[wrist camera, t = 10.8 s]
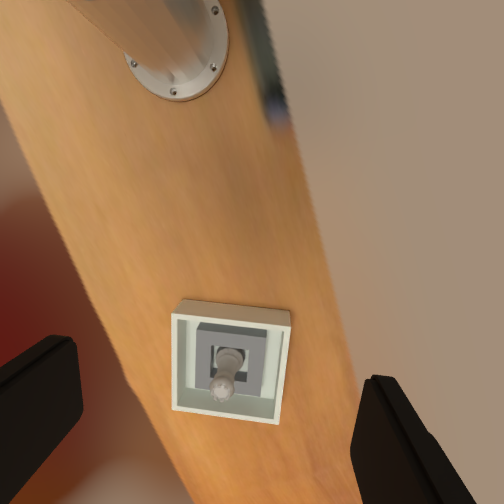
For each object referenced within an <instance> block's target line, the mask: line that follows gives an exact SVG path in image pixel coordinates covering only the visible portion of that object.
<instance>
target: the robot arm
mask: <svg viewBox="0 0 504 504" xmlns="http://www.w3.org/2000/svg"><path fill="white" fill-rule="evenodd" d="M66 1H67V2H69V3H70V4H71V5H72V6H73V7H74V8H75V9H77V10H78V11H79V12H80V13H81V14H82V15H83V16H84V17H86V18H87V19H88V20H89V21H90V22H91V23H92V24H93V25H95V26H96V27H97V28H98V29H99V30H100V31H101V32H103V33H104V34H105V35H106V36H107V37H108V38H109V39H110V40H112V41H113V42H114V43H115V44H116V45H117V46H118V47H120V48H121V49H122V50H123V52H124V55H125V59H126V61H127V63H128V66H129V68H130V70H131V71H132V73H133V74H134V76H135V77H136V79H137V80H138V81H139V82H140V83H141V84H142V85H143V86H144V87H145V88H146V89H147V90H149V91H150V92H151V93H153V94H155V95H156V96H158V97H160V98H163V99H166V100H169V101H177V102H180V101H188V100H191V99H194V98H197V97H199V96H200V95H202V94H204V93H205V92H206V91H208V90H209V89H210V88H211V87H212V86H213V85H214V83H215V82H216V81H217V79H218V78H219V76H220V74H221V72H222V70H223V68H224V66H225V62H226V59H227V55H228V47H229V34H228V27H227V22H226V19H225V16H224V12H223V9H222V7H221V5H220V3H219V1H218V0H66ZM216 13H218V14H217V15H215V14H216ZM137 65H138V66H137ZM213 69H216V71H214V72H213ZM175 92H177V94H176V95H175V96H174V93H175ZM82 413H83V399H82V390H81V381H80V371H79V363H78V353H77V346H76V343H75V342H73V339H72V338H71V337H68V336H60V335H49V336H47V337H46V338H44V339H43V340H41V341H40V342H38V343H37V344H35V345H34V346H32V347H30V348H29V349H27V350H26V351H24V352H23V353H21V354H20V355H18V356H17V357H15V358H14V359H12V360H11V361H9V362H8V363H6V364H5V365H3V366H2V367H0V504H9V503H10V501H11V500H12V499H13V498H14V497H15V495H16V494H17V493H18V492H19V491H20V489H21V488H22V487H23V486H24V485H25V483H26V482H27V481H28V480H29V479H30V477H31V476H32V475H33V474H34V473H35V472H36V470H37V469H38V468H39V467H40V466H41V464H42V463H43V462H44V461H45V460H46V459H47V457H48V456H49V455H50V454H51V453H52V451H53V450H54V449H55V448H56V447H57V446H58V444H59V443H60V442H61V441H62V440H63V438H64V437H65V436H66V435H67V434H68V432H69V431H70V430H71V429H72V428H73V427H74V425H75V424H76V423H77V422H78V420H79V419H80V417H81V415H82ZM350 456H351V461H352V465H353V469H354V472H355V476H356V480H357V483H358V487H359V491H360V494H361V498H362V502H363V504H476V502H475V501H474V499H473V497H472V496H471V494H470V493H469V491H468V489H467V488H466V486H465V485H464V483H463V482H462V480H461V478H460V477H459V475H458V474H457V472H456V470H455V469H454V467H453V466H452V464H451V462H450V461H449V459H448V458H447V456H446V455H445V453H444V451H443V450H442V448H441V447H440V445H439V443H438V442H437V440H436V439H435V438H434V437H433V435H432V434H430V433H429V432H428V431H427V429H426V428H425V426H424V424H423V423H422V421H421V419H420V418H419V416H418V415H417V413H416V411H415V410H414V408H413V407H412V405H411V403H410V402H409V400H408V398H407V397H406V395H405V394H404V392H403V390H402V389H401V387H400V386H399V384H398V382H397V381H396V379H395V378H393V377H389V376H381V375H372V376H371V379H366V380H365V383H364V387H363V391H362V396H361V401H360V405H359V410H358V414H357V419H356V423H355V428H354V432H353V437H352V441H351V446H350Z"/></svg>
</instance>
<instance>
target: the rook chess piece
mask: <svg viewBox="0 0 504 504" xmlns="http://www.w3.org/2000/svg"><path fill="white" fill-rule="evenodd" d="M215 359H216V364H217V367H218V369H217V373H216V374H215V376H214V379H213V380H212V381H211V383H210V386H209V387H210V391H211V392H210V393H211V396H214V397H213V399H214V400H215V401H217V399H220V402H224V399H226V401H228V400H229V399H230V397H231V396H232V395H233V394H234V391H235V388H234V382H235V379H234V376H235V374H236V372H237V371H239V370H240V369H241V368H242V366H243V363H244V360H245V353H244V351H243V349H237V348H229V347H221V346H220V347H219V348H218V350H217V353H216V357H215Z"/></svg>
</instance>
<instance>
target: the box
mask: <svg viewBox="0 0 504 504" xmlns="http://www.w3.org/2000/svg"><path fill="white" fill-rule="evenodd" d="M290 331H291V322H290V312H289V311H287V310H278V309H269V308H260V307H251V306H242V305H233V304H224V303H215V302H206V301H197V300H188V299H183V300H182V301H181V302H180V303H179V305H178V306H177V307H176V308H175V309H174V311H173V312H172V410H178V411H185V412H192V413H199V414H206V415H213V416H220V417H227V418H234V419H242V420H249V421H256V422H263V423H270V424H277V425H279V418H280V410H281V402H282V394H283V386H284V378H285V371H286V363H287V355H288V347H289V339H290ZM220 346H221V347H229V348H237V349H243V351H244V353H245V360H244V363H243V366H242V368H241V369H240V370H239V371H237V372H236V374H235V376H234V379H235V382H234V388H235V391H234V394H233V395H232V396H231V397H230V399H229V400H228V401H226V399H224V402H220V399H217V401H215V400H214V399H213V397H214V396H211V393H210V392H211V391H210V387H209V386H210V383H211V381H212V380H213V379H214V376H215V374H216V373H217V369H218V367H217V364H216V359H215V357H216V353H217V350H218V348H219V347H220Z"/></svg>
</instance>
